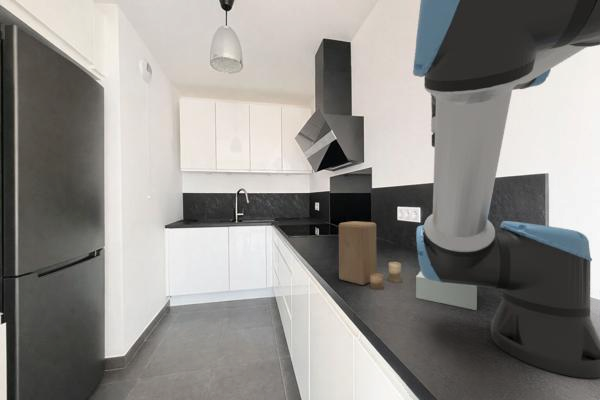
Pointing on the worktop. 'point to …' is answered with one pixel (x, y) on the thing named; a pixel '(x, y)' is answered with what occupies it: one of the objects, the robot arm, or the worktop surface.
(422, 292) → the socket block
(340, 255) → the wooden block
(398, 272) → the dowel mid
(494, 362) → the worktop surface
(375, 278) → the dowel short
